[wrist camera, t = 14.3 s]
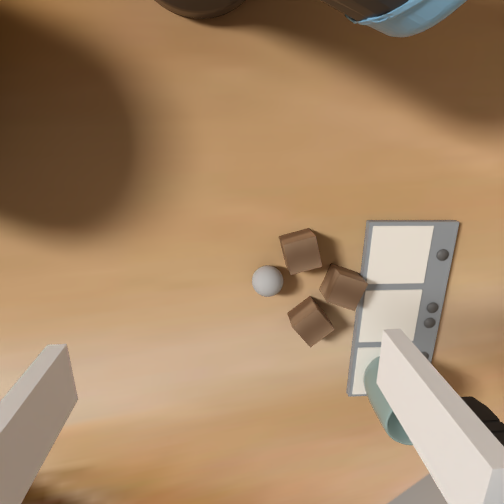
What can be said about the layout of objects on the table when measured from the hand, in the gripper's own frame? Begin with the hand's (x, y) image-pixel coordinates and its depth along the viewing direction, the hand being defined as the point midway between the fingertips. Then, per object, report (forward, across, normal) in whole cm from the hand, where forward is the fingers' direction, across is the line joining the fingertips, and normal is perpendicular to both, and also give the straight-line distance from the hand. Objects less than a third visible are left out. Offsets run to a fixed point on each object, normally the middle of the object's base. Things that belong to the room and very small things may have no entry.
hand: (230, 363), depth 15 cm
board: (+31, +24, -16) cm, 42 cm away
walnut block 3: (+31, +15, -10) cm, 36 cm away
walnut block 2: (+31, +11, -15) cm, 36 cm away
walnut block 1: (+31, +9, -5) cm, 33 cm away
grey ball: (+31, +5, -9) cm, 33 cm away
